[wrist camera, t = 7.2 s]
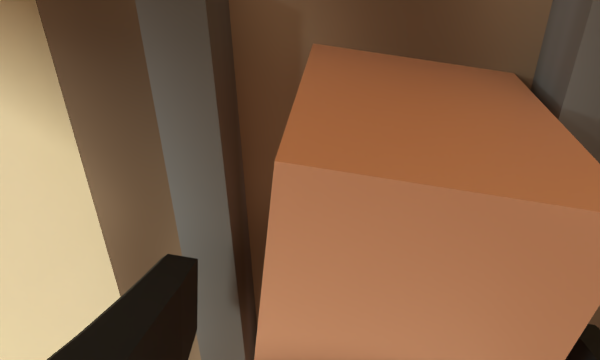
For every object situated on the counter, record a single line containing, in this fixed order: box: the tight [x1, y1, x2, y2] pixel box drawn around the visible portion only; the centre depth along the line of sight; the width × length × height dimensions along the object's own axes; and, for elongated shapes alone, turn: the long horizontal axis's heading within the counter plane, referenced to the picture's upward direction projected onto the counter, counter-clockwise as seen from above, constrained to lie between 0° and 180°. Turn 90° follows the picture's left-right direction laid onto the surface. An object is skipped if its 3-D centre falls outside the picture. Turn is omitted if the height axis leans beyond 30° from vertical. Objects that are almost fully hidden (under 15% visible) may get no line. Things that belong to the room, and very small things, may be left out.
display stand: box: [36, 0, 600, 360], centre depth 12 cm, size 14×16×3 cm
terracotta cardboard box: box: [254, 43, 600, 360], centre depth 9 cm, size 4×9×5 cm, turn 173°
